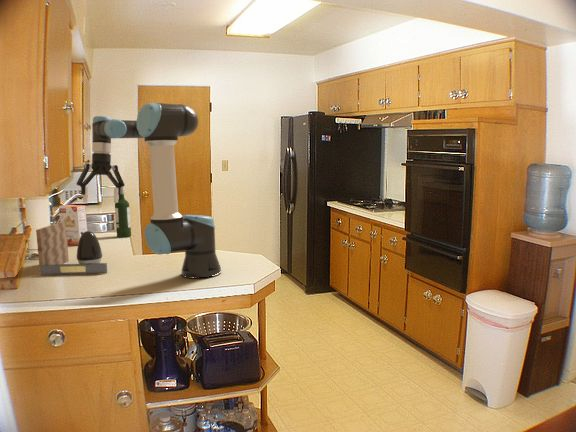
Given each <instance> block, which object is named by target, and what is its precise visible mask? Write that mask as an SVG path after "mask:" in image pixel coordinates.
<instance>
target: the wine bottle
mask: <svg viewBox="0 0 576 432" xmlns="http://www.w3.org/2000/svg"><path fill="white" fill-rule="evenodd" d="M114 212H115V213H114V214H115V227H116V237H117V238H119V239H120V238H122V239H123V238H125V239H126V238H130V237H132V227H131V226H132V225H131V212H130V202H129V201H128V200H127V199H125V192H124V186H123V187H121V188H120V195H118V203H114Z"/></svg>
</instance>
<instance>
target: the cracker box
mask: <svg viewBox="0 0 576 432" xmlns="http://www.w3.org/2000/svg"><path fill="white" fill-rule="evenodd" d="M58 211H59V220H60V221H59V222H64V221H66V233H67V245H70V246H78V243H79V240H80V237H81V232H83V233H84V232H86V231H88V222H87V209H86V205H78V204H77V205H75V204H64V205H62V204H61V205H58Z"/></svg>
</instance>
